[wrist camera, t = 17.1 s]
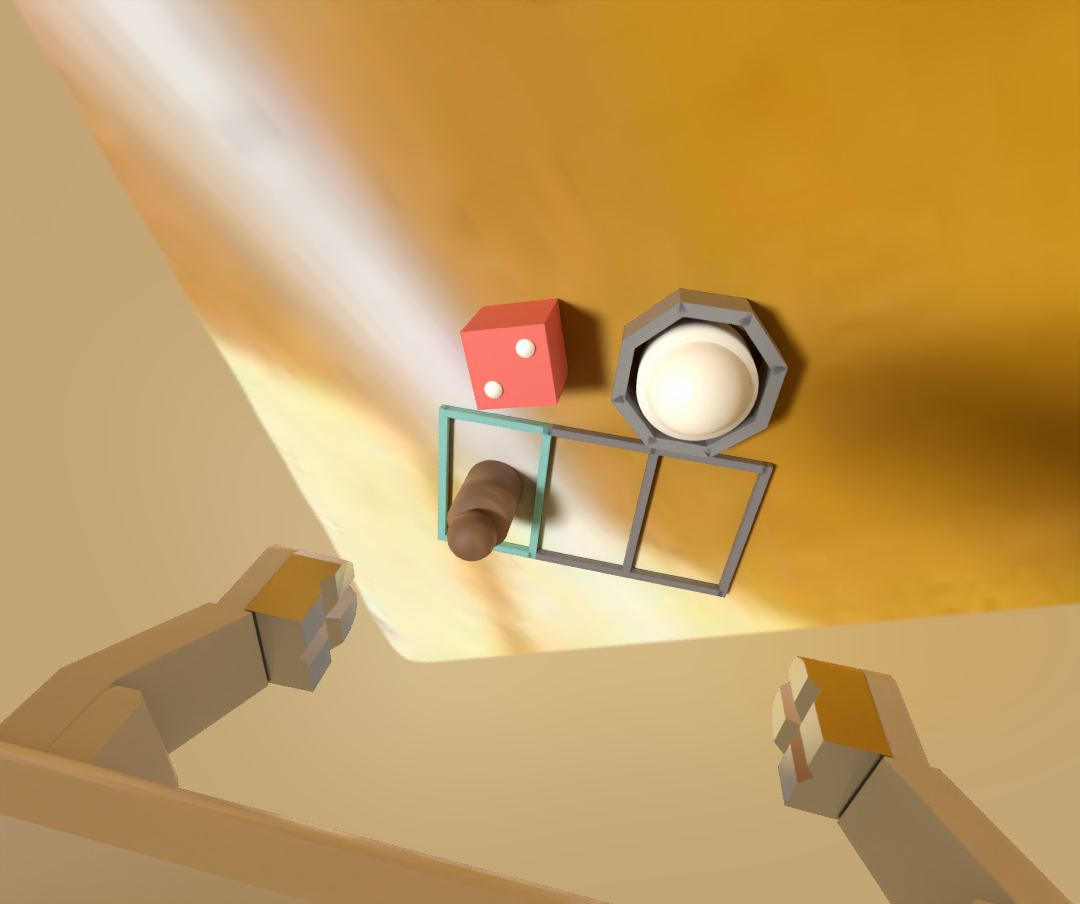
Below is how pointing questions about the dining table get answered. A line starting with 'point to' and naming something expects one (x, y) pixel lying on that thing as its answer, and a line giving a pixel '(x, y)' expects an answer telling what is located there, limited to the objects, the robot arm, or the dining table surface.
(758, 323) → the dome housing
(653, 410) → the dome
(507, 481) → the pawn
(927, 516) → the dining table surface
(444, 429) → the frame
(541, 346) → the red die
